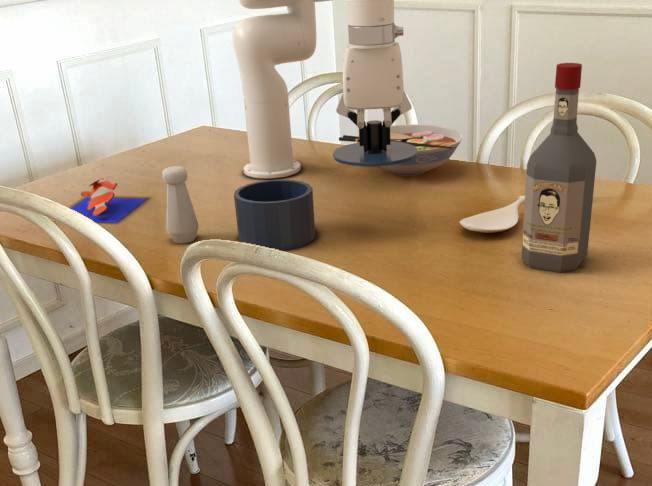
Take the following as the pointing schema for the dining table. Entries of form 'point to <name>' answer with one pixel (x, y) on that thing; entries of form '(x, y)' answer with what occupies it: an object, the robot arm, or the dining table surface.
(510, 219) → the spoon
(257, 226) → the pot
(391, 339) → the dining table surface
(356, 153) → the lid
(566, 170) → the liquor
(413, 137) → the ramen bowl
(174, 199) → the salt shaker
